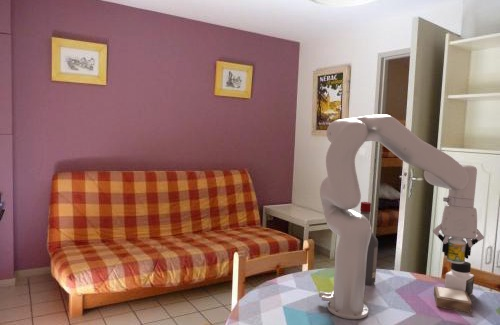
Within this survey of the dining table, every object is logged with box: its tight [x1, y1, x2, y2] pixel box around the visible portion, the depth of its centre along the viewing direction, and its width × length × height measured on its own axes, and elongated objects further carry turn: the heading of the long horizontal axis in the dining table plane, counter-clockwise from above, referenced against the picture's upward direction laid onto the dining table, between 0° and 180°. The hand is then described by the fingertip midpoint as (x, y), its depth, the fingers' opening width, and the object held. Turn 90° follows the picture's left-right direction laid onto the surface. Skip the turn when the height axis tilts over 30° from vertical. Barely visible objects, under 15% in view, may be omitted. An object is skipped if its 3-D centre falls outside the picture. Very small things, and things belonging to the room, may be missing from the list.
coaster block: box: [433, 285, 472, 314], centre depth 131 cm, size 10×10×3 cm
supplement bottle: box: [446, 237, 467, 264], centre depth 129 cm, size 5×5×10 cm
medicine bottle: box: [444, 259, 475, 297], centre depth 138 cm, size 7×7×12 cm
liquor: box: [360, 201, 379, 287], centre depth 145 cm, size 9×9×30 cm
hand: (455, 255), depth 129 cm, fingers closed on supplement bottle, 5 cm apart
